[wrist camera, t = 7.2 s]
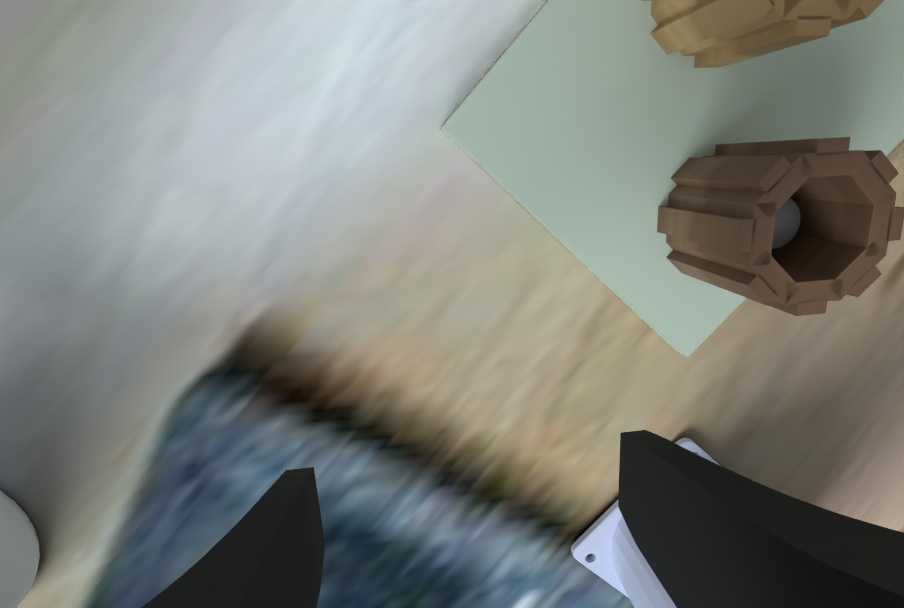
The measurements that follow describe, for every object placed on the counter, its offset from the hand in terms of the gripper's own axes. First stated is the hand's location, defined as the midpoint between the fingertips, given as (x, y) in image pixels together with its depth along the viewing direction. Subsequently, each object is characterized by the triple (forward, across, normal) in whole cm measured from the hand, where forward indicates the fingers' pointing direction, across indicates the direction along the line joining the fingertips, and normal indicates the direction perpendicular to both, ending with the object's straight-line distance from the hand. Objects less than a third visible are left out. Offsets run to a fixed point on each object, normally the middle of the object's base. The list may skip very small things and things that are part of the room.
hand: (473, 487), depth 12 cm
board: (+10, -11, -9) cm, 18 cm away
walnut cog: (+9, -12, -5) cm, 16 cm away
